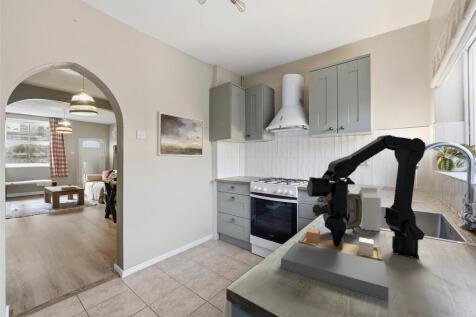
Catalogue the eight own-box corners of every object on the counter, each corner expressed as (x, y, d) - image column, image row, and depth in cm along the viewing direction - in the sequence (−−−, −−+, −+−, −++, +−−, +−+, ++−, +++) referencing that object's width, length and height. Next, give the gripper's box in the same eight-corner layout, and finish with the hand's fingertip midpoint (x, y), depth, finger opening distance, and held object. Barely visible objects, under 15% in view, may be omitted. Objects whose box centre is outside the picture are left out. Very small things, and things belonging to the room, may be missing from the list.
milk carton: (380, 231, 95) (381, 189, 95) (362, 230, 96) (363, 188, 96) (373, 226, 102) (374, 186, 101) (357, 225, 103) (357, 186, 103)
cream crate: (373, 251, 70) (373, 239, 70) (373, 256, 67) (373, 244, 67) (359, 249, 72) (359, 237, 72) (358, 253, 69) (358, 241, 69)
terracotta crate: (319, 240, 79) (320, 230, 79) (317, 244, 75) (317, 233, 75) (308, 238, 81) (308, 228, 81) (306, 242, 78) (306, 231, 78)
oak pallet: (380, 256, 72) (380, 229, 71) (381, 269, 63) (382, 239, 63) (305, 240, 85) (305, 217, 85) (297, 249, 76) (298, 224, 76)
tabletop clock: (338, 240, 84) (339, 177, 84) (320, 233, 92) (321, 175, 92) (361, 234, 91) (362, 176, 90) (343, 228, 99) (343, 174, 98)
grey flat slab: (384, 272, 61) (384, 262, 61) (388, 300, 49) (388, 287, 49) (294, 250, 75) (295, 242, 75) (280, 268, 63) (281, 258, 63)
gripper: (319, 191, 86) (319, 229, 86) (308, 198, 70) (307, 246, 70) (350, 193, 80) (350, 235, 80) (346, 203, 64) (345, 254, 64)
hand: (338, 241), depth 74 cm, fingers open, 9 cm apart
